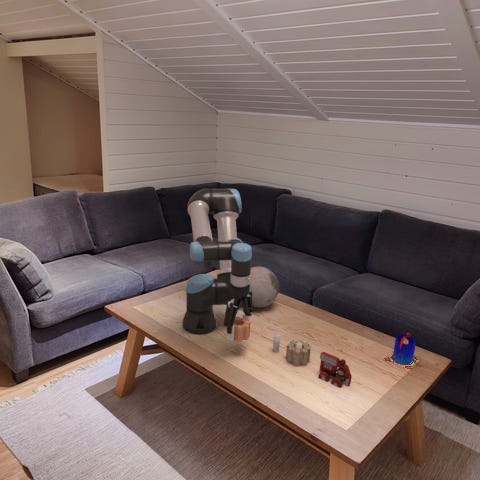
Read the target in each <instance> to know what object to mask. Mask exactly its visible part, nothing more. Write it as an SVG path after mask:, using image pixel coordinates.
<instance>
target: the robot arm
mask: <svg viewBox="0 0 480 480" xmlns="http://www.w3.org/2000/svg"><path fill="white" fill-rule="evenodd" d="M242 210H243V208H242V199H241V195H240V192H239V191H238V190H237V189H236V188H229V187H228V188H202V189H200V190H198V191H196V192H195V193H194V194H193V195H192V196H191V197H190V198H189V200H188V203H187V213H188V215H189V216H190V220H191V221H190V222H191V228H192V239H193V241H192V242H191V243H189V244H190V245H189V256H190V260H191V261H193V262H212V261H219V271H218V272H217V274H216V278H215V277H214V276H213V275H212V274H209V273H208V274H207V273H199V274H196V275H192V276H191V277H189V278H188V280H187V281H186V288H185V291H186V294H185V296H186V300H185V301H186V305H185V307H186V309H185V310H186V311H185V313H184V317H183V319H182V324H181V325H182V329H183V330H184V331H185V332H187V333H188V334H192V335H207V334H209V333H211V332H214V331H215V330H216V328H217V319H216V317H215V313H214V309H213V308H214V306H224V305H225V306H226V308H225V312H224V313H225V314H224V317H223V318H224V319H223V324H222V326H224V327H226V339H227V340H229V341H231V342H234V341H235V340H234V326H233V324H234V321H235V318H236V317H237V315H238V311H239V310H240V309H241V308H242V311H243V314H242V318H246V319H247V321H250V317H252V316H253V313H254V307H253V303H252V292H251V291H250V273H251V268H252V256H253V253H252V246H251V245H250V244H248V243H245V242H244V241H242V240H241V239H240V238H238V234H237V221H236V220H237V219H238V217H239V214H241V213H242ZM209 215H213V219H215V221H216V222H217V223H216V224H217V240H216V241H214V240H213V236H212V230H211V225H210V224H211V223H210V218H209Z"/></svg>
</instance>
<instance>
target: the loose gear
mask: <svg viewBox="0 0 480 480" xmlns="http://www.w3.org/2000/svg"><path fill="white" fill-rule="evenodd" d="M233 326H234V341H237V343H239V342H242V341H248V340H249V337H251V336H250V335H251V321H250V320H249V321H247V319H246V318H243V317H241V316H236V318H235V321H234V324H233Z"/></svg>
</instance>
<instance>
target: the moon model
mask: <svg viewBox="0 0 480 480" xmlns="http://www.w3.org/2000/svg"><path fill="white" fill-rule="evenodd" d="M250 291H251V292H252V303H253V308H257V309H258V308H260V309H261V308H265V307H268V306H270V305H271V304H272V303H273V302H275V300H276V299H277V297H278V295H279V292H280V283H279V280H278V277H277V276H276V275H275V273H274V272H273V271H272V270H271V269H269V268H267V267H265V266H253V267H252V266H251V273H250Z"/></svg>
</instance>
